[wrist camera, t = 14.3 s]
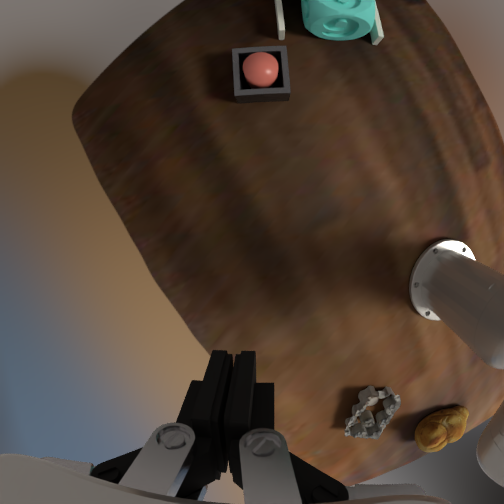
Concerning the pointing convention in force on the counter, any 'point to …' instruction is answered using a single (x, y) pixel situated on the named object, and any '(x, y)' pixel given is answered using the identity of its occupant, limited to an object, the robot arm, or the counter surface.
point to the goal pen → (374, 32)
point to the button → (260, 70)
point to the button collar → (263, 93)
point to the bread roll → (441, 428)
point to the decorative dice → (338, 18)
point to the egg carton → (367, 421)
